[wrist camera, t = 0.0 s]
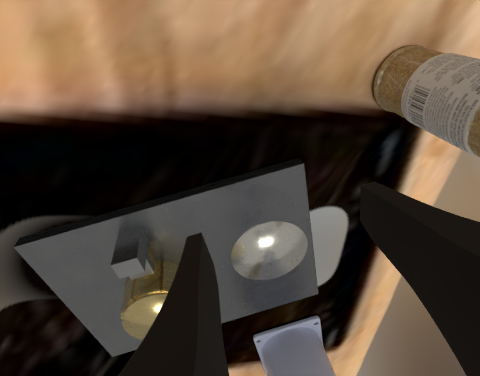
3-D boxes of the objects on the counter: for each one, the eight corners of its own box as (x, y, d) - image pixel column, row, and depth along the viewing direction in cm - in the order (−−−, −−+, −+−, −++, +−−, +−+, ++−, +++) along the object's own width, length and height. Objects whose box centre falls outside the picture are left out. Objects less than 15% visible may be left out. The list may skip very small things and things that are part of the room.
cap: (205, 305, 29) (208, 339, 26) (149, 322, 29) (147, 358, 26) (174, 239, 24) (174, 272, 21) (106, 258, 24) (97, 295, 21)
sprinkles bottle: (417, 109, 23) (645, 214, 12) (363, 110, 22) (553, 224, 11) (440, 43, 21) (753, 97, 10) (380, 42, 20) (645, 99, 9)
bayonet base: (314, 286, 32) (332, 321, 29) (114, 347, 32) (106, 391, 28) (299, 157, 23) (321, 186, 20) (19, 238, 23) (-10, 283, 19)
